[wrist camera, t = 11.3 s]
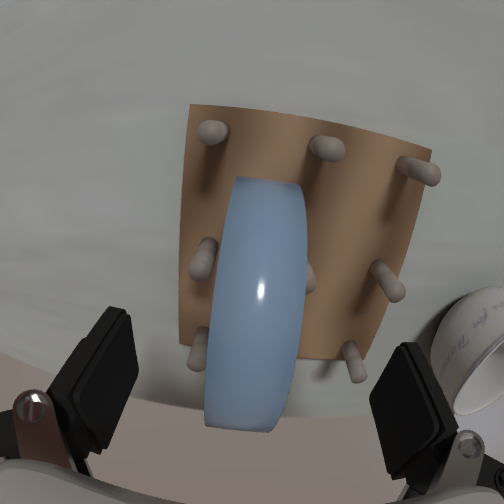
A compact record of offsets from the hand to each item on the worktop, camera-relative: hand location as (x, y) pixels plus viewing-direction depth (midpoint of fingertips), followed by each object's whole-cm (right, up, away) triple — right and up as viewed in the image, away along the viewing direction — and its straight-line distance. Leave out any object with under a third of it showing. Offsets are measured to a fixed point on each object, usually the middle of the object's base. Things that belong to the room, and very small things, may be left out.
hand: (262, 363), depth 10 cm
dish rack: (+3, +4, +11) cm, 12 cm away
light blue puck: (0, +4, +9) cm, 10 cm away
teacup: (+19, -4, +14) cm, 24 cm away
